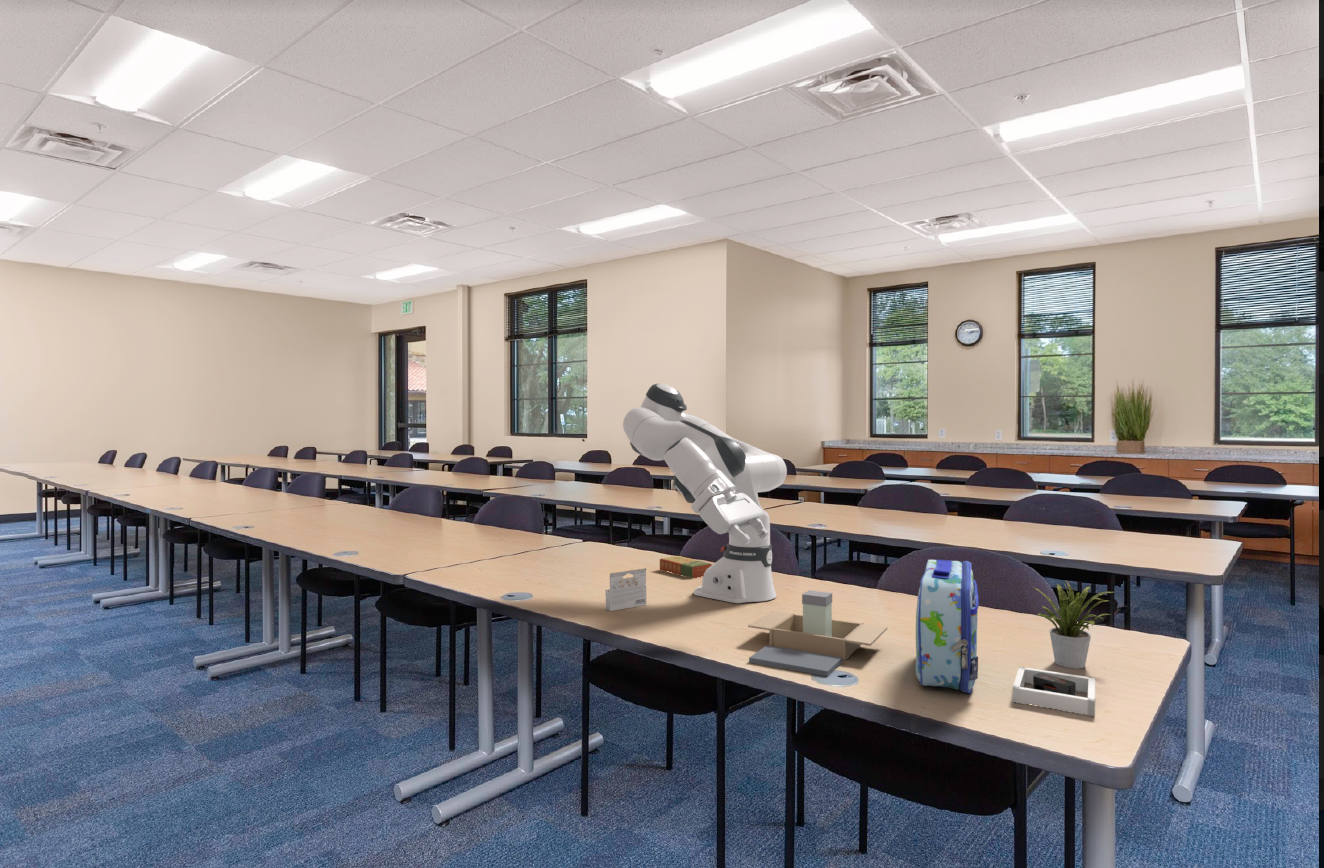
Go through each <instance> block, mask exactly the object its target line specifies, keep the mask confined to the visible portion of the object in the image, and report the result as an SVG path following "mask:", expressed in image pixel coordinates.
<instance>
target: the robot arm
mask: <svg viewBox="0 0 1324 868" xmlns="http://www.w3.org/2000/svg"><path fill="white" fill-rule="evenodd" d="M643 399H644V400H643V402H642V403H641V405H640V406H639V407H638V406H637V407H634V408H632V409H631V410H629V411H628V412H627V413H626V415H625V416H624V419H623V421H622V422H623V423H622V428H623V430H624V432H625V435H626V437H627V439H628V440H629V444H630V447H631V449H632V450H633V451H634V453H636V454H638V455H640V456H642V457H645V458H647V459H649V460H652V461H655V462H656V461H659V462H660V461H665V463H666V464H667V467H668V468H669V469H670V471H671V473H673V475H674V476H673V483H672V484H673V485H672V486H673V487H674V489H676V490H677V491H678V492H679V493H680V494H681V495H682V496H683V498H684V499H685V501H686V503H689V504H691V505H690V508H691V510H692V512H694V513H696V514H698V515H699V516H700V518H701V519H702V521H704V523H705V524H707V526H708V527H709V528H710V529H711V530H712V531H713V532H715V533H716V534H718V535H723V534H726V533H727V534H728V538H729V539H728V543H727V544H725V545H723V546H722V547H720V549H721V550H720V552H723V556H722V557H721V558H720V559H718V560H717V561H716V562H714V563H713V564H712V566H711V567H709V568H708V569H707V570H706V571H705V573H704V576H703V577H702V583H701V585H699V586H697V587H696V588H695V589H694V590H693V595H694V596H697V597H698V596H699V597H704V598H708V599H712V600H713V599H714V600H718V601H723V602H727V603H733V604H742V603H752V602H753V603H755V602H766V601H770V600H773V599H776V598H777V593H776V590H775V585H774V580H773V574H772V563H773V552H772V550H773V549H772V548H773V547H772V546H773V545H772V544H771V519H770V518H771V517H770V515H769V513H768V512H767V511H766V510H765V509H763V507H762V506H761V503H760V499H759V494H758V493H766V492H770V491H772V490H775V489H776V488H779V487H780V486H782V485H783V484H784V482H785V481H786V478H787V474H788V469H787V465H786V463H785V461H784V459H783V458H782V457H781V456H779V455H778V454H775V453H770V452H768V451H765V450H763V449H760V448H758V447H756V446H754V445H752V444H749V443H746V442H744V441H741V440H739V439H737V438H734V437H733V436H730V435H729V434H727V433H726V432H724V431H722V430H721V429H720V428H718V427H717V426H715V425H713V424H712V423H710V422H708V421H707V420H704V419H703V418H701V417H699V416H696V415H692V414H689V413H686V412H684V411H687V409H688V407H687V404H685V403H684V398H683V396H682V395H681V393H680V392H679V390H677V389H676V388H675V387H672V386H671V385H669V384H665V383H654V384H652V385H651V386H650V387H649V389H648V390H647V391H646V393H645V397H644V398H643Z"/></svg>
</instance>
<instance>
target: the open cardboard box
mask: <svg viewBox="0 0 1324 868" xmlns="http://www.w3.org/2000/svg"><path fill="white" fill-rule="evenodd" d="M747 627H748V628H750V629H752V628H753V629H758V630H764V631H765V630H766V631H769V638H768V639H769V644H768V645H769V646H775V647H781V648H787V649H793V650H799V651H806V652H812V653H818V654H824V655H830V656H836V657H842V661H846V660H847V659H848V658H849V657H850V656H851V655H852V654H854V653H855V651H857V649H859V648H860V647H861V646H862V645H863V646H870V647H871V646H872V645H873V644H874V643H875V642H876V641H877V640H878V639H879V638H880V637H881V636H882V635H883V634H884V633H885V632H886V631H887V630H888V626H882V625H875V624H867V623H865V622H854V621H848V620H847V621H846V620H839V619H833V618H832V637H829V636H822V635H815V634H809V633H803V614H796V613H790V612H789V613H788V612H780V611H774V610H772V611H770V612H768V613H767V614H764V615H763V616H761V617H760V618H758V619H756V620H754V621H752V622H751V623H749V624H748V625H747Z"/></svg>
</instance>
